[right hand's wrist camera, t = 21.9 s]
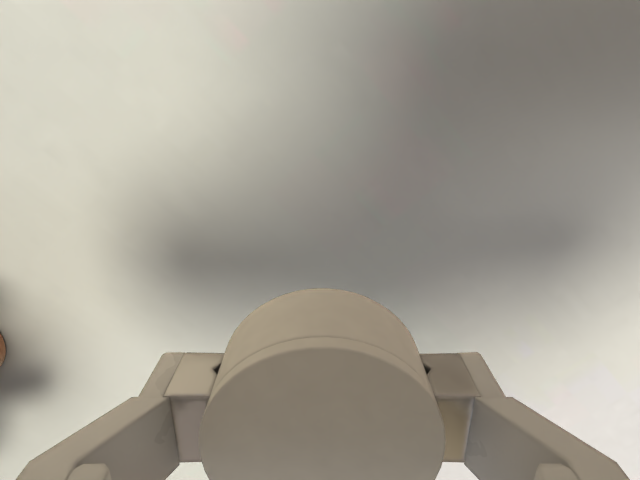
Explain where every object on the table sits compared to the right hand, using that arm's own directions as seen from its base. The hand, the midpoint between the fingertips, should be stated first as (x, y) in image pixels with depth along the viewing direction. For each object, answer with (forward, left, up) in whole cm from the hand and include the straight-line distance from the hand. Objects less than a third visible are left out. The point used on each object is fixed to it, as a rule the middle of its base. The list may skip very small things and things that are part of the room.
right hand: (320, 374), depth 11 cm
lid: (0, 0, +2) cm, 2 cm away
